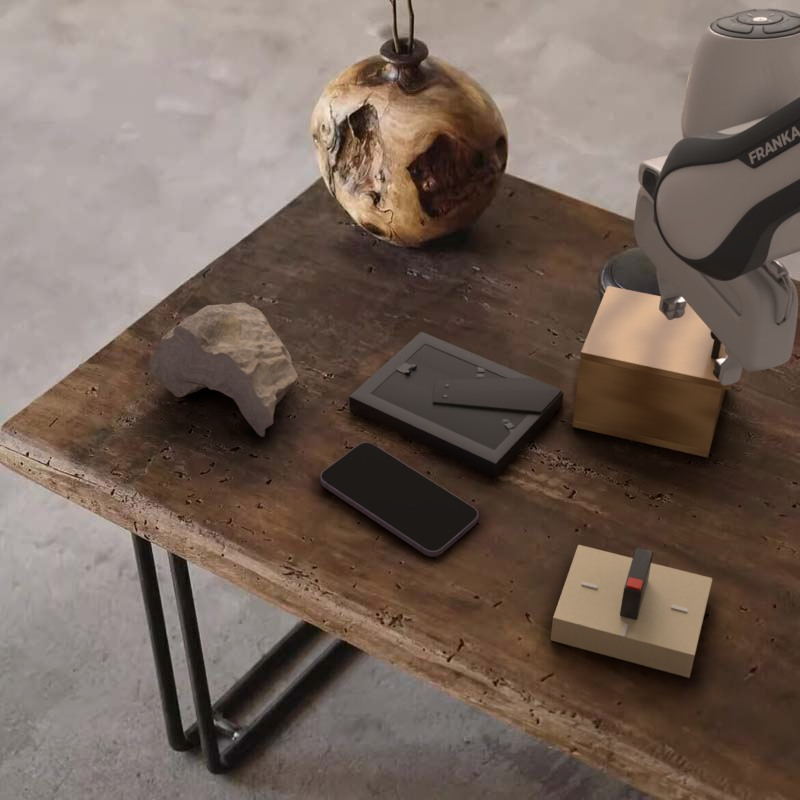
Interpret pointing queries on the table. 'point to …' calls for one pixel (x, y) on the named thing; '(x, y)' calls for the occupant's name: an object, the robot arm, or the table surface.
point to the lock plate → (623, 637)
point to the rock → (227, 360)
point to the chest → (646, 407)
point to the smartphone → (399, 498)
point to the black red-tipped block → (636, 583)
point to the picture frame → (457, 403)
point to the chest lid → (652, 339)
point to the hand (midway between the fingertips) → (697, 345)
